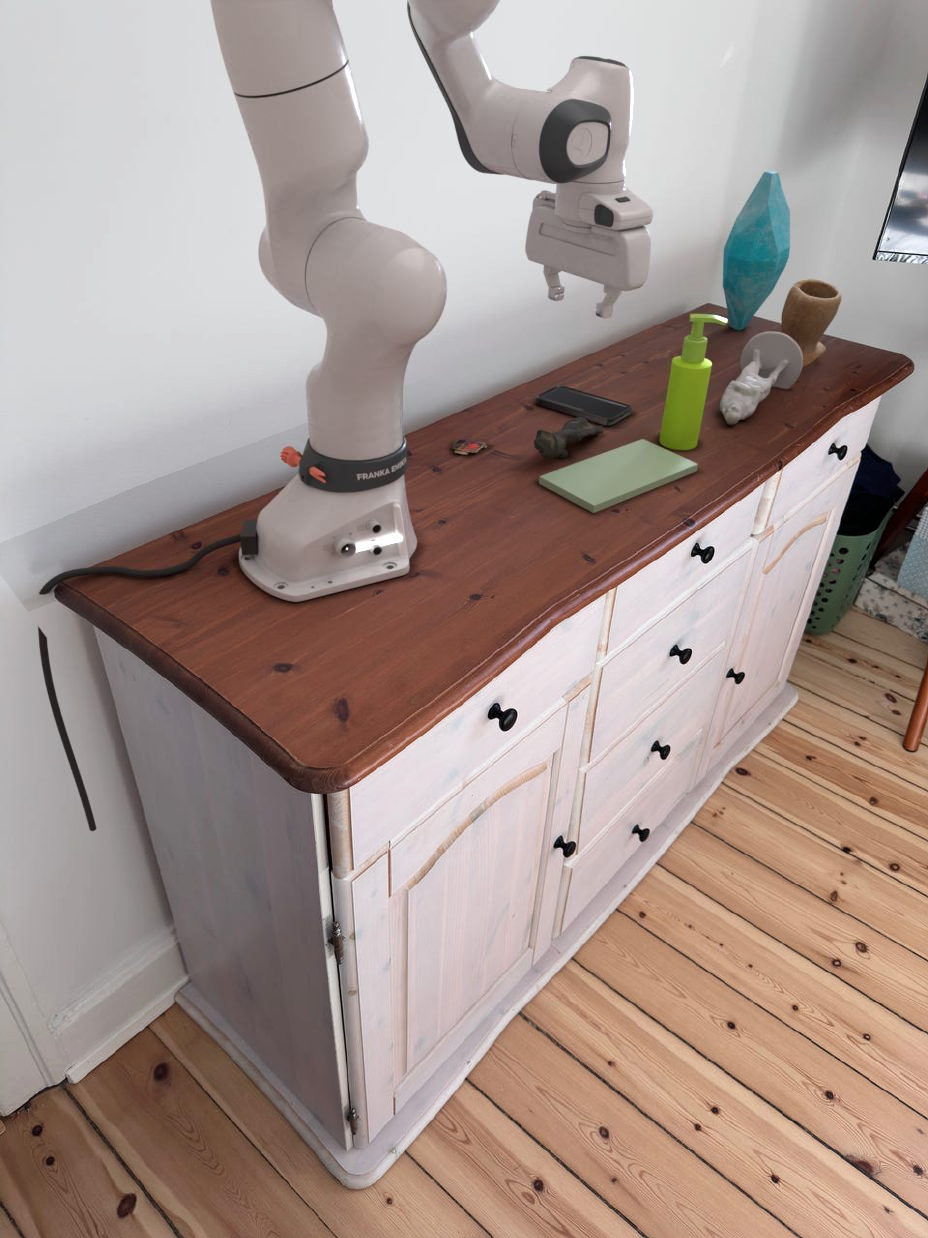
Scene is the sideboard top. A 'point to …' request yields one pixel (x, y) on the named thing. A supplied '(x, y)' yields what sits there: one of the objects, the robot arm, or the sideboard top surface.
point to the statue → (564, 437)
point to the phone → (584, 405)
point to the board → (617, 475)
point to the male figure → (761, 373)
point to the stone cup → (809, 315)
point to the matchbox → (467, 446)
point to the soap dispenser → (688, 388)
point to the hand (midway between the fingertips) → (579, 307)
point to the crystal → (756, 250)
